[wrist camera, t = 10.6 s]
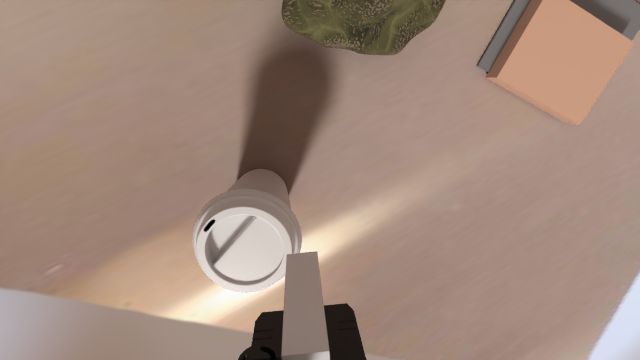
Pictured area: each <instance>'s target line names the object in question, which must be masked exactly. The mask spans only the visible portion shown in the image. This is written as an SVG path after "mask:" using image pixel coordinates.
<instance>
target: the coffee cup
mask: <svg viewBox="0 0 640 360" xmlns="http://www.w3.org/2000/svg"><path fill="white" fill-rule="evenodd" d="M301 243H302V235H301V229H300V225H299V223H298V220H297V218H296V216H295V215H294V213H293V212H292V210H291V206H290V201H289V196H288V191H287V187H286V184H285V182H284V181H283V179H282V178H281V177H280V176H279V175H278V174H276V173H275V172H273V171H270V170H267V169H254V170H251V171H249V172H247V173H245V174H244V175H243V176H242V177H241V178H240V179H239V180H238V181H237V182H236V183H235V184H234V185H233V186H232V187H231V188H230V189H229V190H228V191H227V192H225V193H223V194H220V195H219V196H217V197H215V198H214V199H212V200H211V201H210V202H208V203H207V204H206V205H205V206H204V208H203V209H202V210H201V212H200V213H199V215H198V217H197V219H196V221H195V224H194V228H193V248H194V252H195V255H196V258H197V260H198V262H199V264H200V266H201V268H202V270H203V271H204V273H205V274H206V275H207V276H208V277H209V278H210V279H211V280H212V281H213V282H215V283H216V284H218V285H220V286H221V287H224V288H226V289H229V290H232V291H237V292H253V291H258V290H262V289H264V288H267V287H269V286H271V285H272V284H274V283H275V282H277V281H279V280H280V279H281V278H283V277H284V276H285V275H286V256H287V254H295V253H300V249H301Z"/></svg>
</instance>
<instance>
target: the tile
mask: <svg viewBox="0 0 640 360" xmlns="http://www.w3.org/2000/svg"><path fill="white" fill-rule="evenodd" d="M633 45H634V42H633V41H631V40H630V39H628V38H627V37H625V36H624V35H622V34H621V33H619V32H617V31H616V30H614V29H613V28H611V27H610V26H608V25H607V24H605V23H604V22H602V21H601V20H599V19H598V18H596V17H594V16H593V15H591V14H590V13H588V12H587V11H585V10H584V9H582V8H581V7H579V6H578V5H576V4H575V3H573V2H571V1H570V0H531V1H530V2H529V4H528V6H527V8H526V9H525V11H524V13H523V14H522V16H521V18H520V20H519V21H518V23H517V25H516V26H515V28H514V30H513V32H512V33H511V35H510V37H509V38H508V40H507V42H506V44H505V45H504V47H503V49H502V50H501V52H500V54H499V56H498V57H497V59H496V61H495V62H494V64H493V66H492V68H491V69H490V71H489V73H488V74H487V76H486V78H487V79H489V80H491V81H492V82H494V83H496V84H498V85H500V86H501V87H503V88H505V89H507V90H508V91H510V92H512V93H514V94H515V95H517V96H519V97H521V98H522V99H524V100H526V101H528V102H529V103H531V104H533V105H535V106H537V107H538V108H540V109H542V110H544V111H545V112H547V113H549V114H551V115H552V116H554V117H556V118H558V119H559V120H561V121H563V122H565V123H571V124H577V125H580V124H581V123H582V121H583V120H584V118H585V117H586V115H587V114H588V112H589V111H590V109H591V108H592V106H593V105H594V103H595V102H596V100H597V99H598V97H599V96H600V94H601V93H602V91H603V90H604V88H605V87H606V85H607V84H608V82H609V81H610V79H611V78H612V76H613V75H614V73H615V72H616V70H617V69H618V67H619V66H620V64H621V63H622V61H623V60H624V58H625V57H626V55H627V54H628V52H629V51H630V49H631V48H632V46H633Z"/></svg>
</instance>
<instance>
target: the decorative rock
mask: <svg viewBox="0 0 640 360" xmlns="http://www.w3.org/2000/svg"><path fill="white" fill-rule="evenodd" d="M444 3H445V0H283V4H282V17H283V20H284V23H285V24H286V25H287V27H289V28H290V29H291V30H293V31H294V32H296V33H298V34H300V35H303V36H305V37H307V38H309V39H312V40H314V41H316V42H317V43H319V44H321V45H323V46H325V47H330V48H343V49H348V50H352V51H355V52H357V53H360V54H368V55H395V54H398V53H399V52H400V51H401V50H402V49H403V48H404V47H405V46H406V44H407V43H408V42H409V41H410V40H411V39H412V38H413V37H415V36H416V35H417V34H419V33H420V32H422V31H424V30H425V29H426V28H428V27H429V26H430V25H431V24H432V23H433V22H434V21H435V20H436V18H437V16H438V15H439V13H440V11H441V9H442V7H443V5H444Z"/></svg>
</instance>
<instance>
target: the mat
mask: <svg viewBox="0 0 640 360" xmlns="http://www.w3.org/2000/svg"><path fill="white" fill-rule="evenodd" d="M530 1H531V0H514V1H513V3H512V5H511V7H510V8H509V10H508V12H507V14H506V15H505V17H504V19H503V20H502V22H501V24H500V26H499V27H498V29H497V31H496V33H495V34H494V36H493V38H492V40H491V41H490V43H489V45H488V47H487V48H486V50H485V52H484V54H483V55H482V57H481V59H480V61H479V62H478V64H477V66H478V67H479V68H481V69H483V70H485V71H486V72H488V73H489V71H490V69H491V68H492V66H493V64H494V62H495V61H496V59H497V57H498V56H499V54H500V52H501V50H502V49H503V47H504V45H505V44H506V42H507V40H508V38H509V37H510V35H511V33H512V32H513V30H514V28H515V26H516V25H517V23H518V21H519V20H520V18H521V16H522V14H523V13H524V11H525V9H526V8H527V6H528V4H529V2H530ZM570 1H571V2H573V3H575V4H576V5H578V6H579V7H581V8H582V9H584V10H585V11H587V12H588V13H590V14H591V15H593V16H594V17H596V18H598V19H599V20H601V21H602V22H604V23H605V24H607V25H608V26H610V27H611V28H613V29H614V30H616V31H617V32H619V33H621V34H622V35H624V36H625V37H627V38H628V39H630V40H631V41H632V40H633V38H634V37H635V35H636V34H637V32H638V31H639V29H640V4H639V3H637V2H636V1H634V0H570Z"/></svg>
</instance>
